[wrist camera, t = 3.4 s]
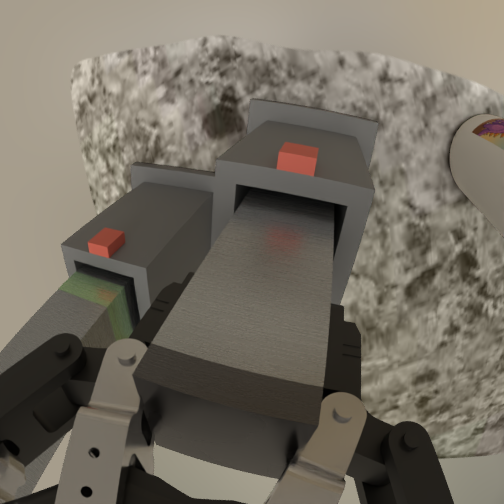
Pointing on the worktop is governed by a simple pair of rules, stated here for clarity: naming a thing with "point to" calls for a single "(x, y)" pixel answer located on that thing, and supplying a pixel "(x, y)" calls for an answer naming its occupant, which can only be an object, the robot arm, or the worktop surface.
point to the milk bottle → (481, 165)
